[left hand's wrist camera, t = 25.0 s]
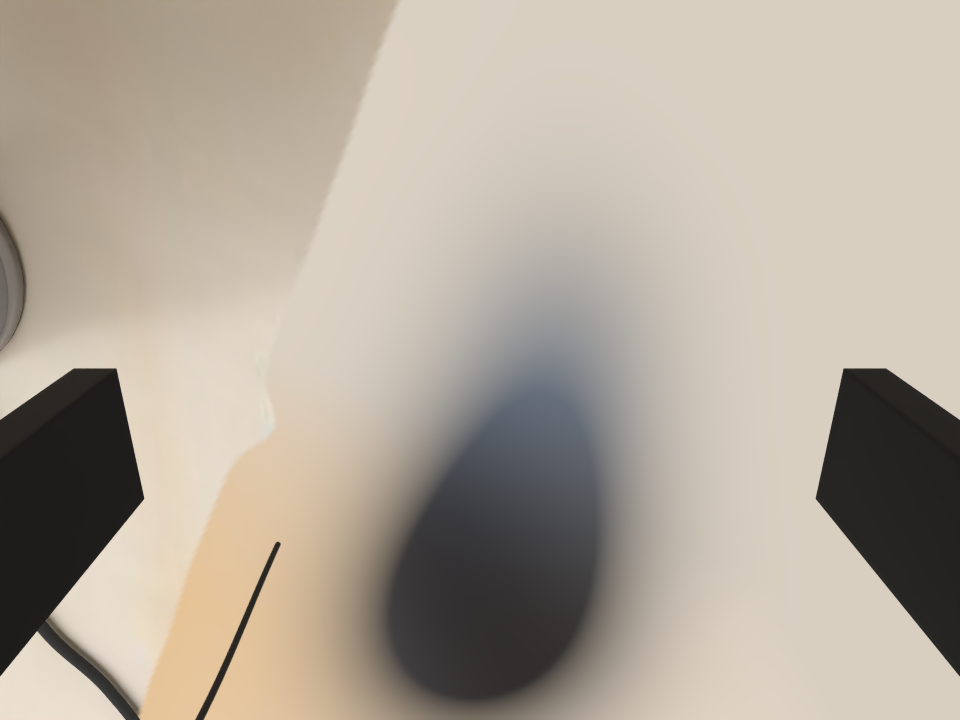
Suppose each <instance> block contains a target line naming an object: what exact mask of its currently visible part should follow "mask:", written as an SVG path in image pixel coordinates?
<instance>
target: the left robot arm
mask: <svg viewBox="0 0 960 720" xmlns="http://www.w3.org/2000/svg"><path fill="white" fill-rule="evenodd" d="M23 300H24V285H23V275H22V270H21V265H20V261H19V258H18V254H17V251H16V249H15V246H14V244H13V241H12V239H11V237H10V235H9V233H8V231H7V229H6V227H5V226H4V224H3V222H2V221H1V219H0V350H1V349H2V348H3V347H4V346H5V345H6V344H7V342H8V341H9V340H10V338H11V337H12V335H13V333H14V331H15V330H16V327H17V325H18V322H19V320H20V316H21V312H22V307H23ZM143 500H144V495H143V490H142V486H141V481H140V476H139V472H138V467H137V462H136V458H135V453H134V448H133V444H132V439H131V434H130V430H129V425H128V420H127V416H126V411H125V406H124V402H123V397H122V393H121V388H120V383H119V379H118V374H117V369H73V370H71V371H70V372H68V373H67V374H65V375H64V376H63V377H61V378H60V379H58V380H57V381H55V382H54V383H52V384H51V385H50V386H48V387H47V388H45V389H44V390H42V391H41V392H40V393H38V394H37V395H35V396H34V397H32V398H31V399H30V400H28V401H27V402H25V403H24V404H22V405H21V406H20V407H18V408H17V409H15V410H14V411H12V412H11V413H10V414H8V415H7V416H5V417H4V418H2V419H1V420H0V676H1V675H2V674H3V672H4V671H5V670H6V669H7V667H8V666H9V665H10V664H11V662H12V661H13V660H14V659H15V657H16V656H17V655H18V654H19V653H20V651H21V650H22V649H23V648H24V646H25V645H26V644H27V643H28V641H29V640H30V639H31V638H32V637H33V635H34V634H35V633H36V632H37V631H38V632H39V634H40V635H41V636H42V637H43V638H44V639H45V640H46V641H47V642H48V643H49V645H50V646H51V647H53V648H54V649H55V650H56V651H57V652H58V653H59V654H60V655H61V656H62V657H64V658H65V659H66V660H67V661H68V662H70V663H71V664H72V665H73V666H75V667H76V668H77V669H78V670H79V671H81V672H82V673H83V674H84V675H85V676H87V677H88V678H89V679H90V680H91V681H92V682H93V683H94V684H95V685H96V686H97V687H98V688H99V689H100V690H101V691H102V692H103V693H104V694H105V696H106V697H107V698H108V699H109V700H110V701H111V703H112V704H113V705H114V706H115V707H116V708H117V710H118V711H119V712H120V713H121V714H122V716H123V717H124V718H125V719H126V720H140V719H139V718H138V716H137V715H136V713H135V712H134V710H133V709H132V708H131V707H130V705H129V704H128V703H127V702H126V701H125V699H124V698H123V697H122V696H121V695H120V693H119V692H118V691H117V690H116V689H115V688H114V686H113V685H112V684H111V683H110V682H109V681H108V680H107V679H106V678H105V677H104V676H103V675H102V674H101V673H100V672H99V671H98V670H97V669H96V668H95V667H94V666H93V665H91V664H90V663H89V662H88V661H87V660H85V659H84V658H83V657H82V656H81V655H79V654H78V653H77V652H76V651H75V650H73V649H72V648H71V647H70V646H69V645H68V644H67V643H65V642H64V641H63V640H62V639H61V638H60V637H59V636H58V635H57V634H56V633H55V631H54V630H53V629H52V628H51V627H50V626H49V625H48V623H47V622H46V619H47V618H48V617H49V616H50V614H51V613H52V612H53V611H54V609H55V608H56V607H57V606H58V604H59V603H60V602H61V601H62V600H63V598H64V597H65V596H66V595H67V593H68V592H69V591H70V590H71V588H72V587H73V586H74V585H75V584H76V582H77V581H78V580H79V579H80V577H81V576H82V575H83V574H84V572H85V571H86V570H87V569H88V568H89V566H90V565H91V564H92V563H93V561H94V560H95V559H96V558H97V556H98V555H99V554H100V553H101V551H102V550H103V549H104V548H105V547H106V545H107V544H108V543H109V542H110V540H111V539H112V538H113V537H114V535H115V534H116V533H117V532H118V531H119V529H120V528H121V527H122V526H123V524H124V523H125V522H126V521H127V519H128V518H129V517H130V516H131V515H132V513H133V512H134V511H135V510H136V508H137V507H138V506H139V505H140V503H141V502H142V501H143ZM816 500H817V501H818V502H819V503H820V505H821V506H822V507H823V508H824V510H825V511H826V512H827V513H828V514H829V516H830V517H831V518H832V519H833V521H834V522H835V523H836V524H837V526H838V527H839V528H840V529H841V531H842V532H843V533H844V534H845V535H846V537H847V538H848V539H849V540H850V542H851V543H852V544H853V545H854V546H855V548H856V549H857V550H858V551H859V553H860V554H861V555H862V556H863V558H864V559H865V560H866V561H867V563H868V564H869V565H870V566H871V568H872V569H873V570H874V571H875V572H876V574H877V575H878V576H879V577H880V579H881V580H882V581H883V582H884V583H885V585H886V586H887V587H888V588H889V590H890V591H891V592H892V593H893V595H894V596H895V597H896V598H897V600H898V601H899V602H900V603H901V604H902V606H903V607H904V608H905V609H906V611H907V612H908V613H909V614H910V616H911V617H912V618H913V619H914V621H915V622H916V623H917V624H918V625H919V627H920V628H921V629H922V630H923V632H924V633H925V634H926V635H927V637H928V638H929V639H930V640H931V641H932V643H933V644H934V645H935V646H936V648H937V649H938V650H939V651H940V653H941V654H942V655H943V656H944V657H945V659H946V660H947V661H948V662H949V664H950V665H951V666H952V667H953V669H954V670H955V671H956V672H957V674H958V675H959V676H960V420H959V419H958V418H956V417H955V416H953V415H952V414H950V413H949V412H948V411H946V410H945V409H943V408H942V407H940V406H939V405H938V404H936V403H935V402H933V401H932V400H930V399H929V398H928V397H926V396H925V395H923V394H922V393H920V392H919V391H918V390H916V389H915V388H913V387H912V386H910V385H909V384H907V383H906V382H905V381H903V380H902V379H900V378H899V377H897V376H896V375H895V374H893V373H892V372H890V371H889V370H887V369H843V374H842V379H841V383H840V388H839V393H838V397H837V402H836V407H835V411H834V416H833V421H832V425H831V430H830V435H829V439H828V444H827V449H826V453H825V458H824V462H823V467H822V472H821V476H820V481H819V486H818V490H817V495H816ZM280 545H281V543H280V542H276V543H275V545H274V547H273V549H272V552H271V554H270V556H269V558H268V560H267V562H266V565H265V567H264V569H263V571H262V574H261V576H260V578H259V581H258V583H257V585H256V587H255V590H254V592H253V594H252V597H251V599H250V601H249V604H248V606H247V608H246V611H245V613H244V615H243V618H242V620H241V622H240V625H239V627H238V630H237V632H236V634H235V636H234V639H233V641H232V643H231V646H230V648H229V650H228V652H227V655H226V657H225V659H224V661H223V663H222V666H221V668H220V670H219V672H218V674H217V677H216V679H215V681H214V683H213V685H212V687H211V689H210V691H209V693H208V695H207V697H206V699H205V701H204V703H203V705H202V707H201V709H200V711H199V713H198V715H197V717H196V719H195V720H204V718H205V716H206V714H207V712H208V710H209V708H210V706H211V704H212V702H213V700H214V698H215V696H216V694H217V691H218V689H219V687H220V685H221V683H222V681H223V679H224V676H225V674H226V672H227V670H228V667H229V665H230V663H231V661H232V658H233V656H234V653H235V651H236V649H237V647H238V644H239V642H240V639H241V637H242V635H243V632H244V630H245V627H246V625H247V623H248V620H249V618H250V615H251V613H252V611H253V608H254V606H255V603H256V601H257V599H258V596H259V594H260V591H261V589H262V587H263V584H264V582H265V580H266V577H267V575H268V573H269V570H270V568H271V566H272V563H273V561H274V559H275V556H276V554H277V552H278V550H279V548H280Z"/></svg>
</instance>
